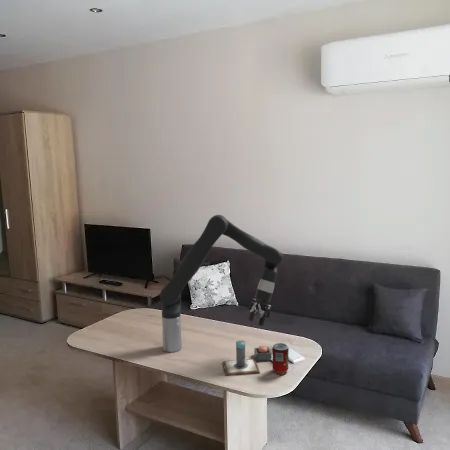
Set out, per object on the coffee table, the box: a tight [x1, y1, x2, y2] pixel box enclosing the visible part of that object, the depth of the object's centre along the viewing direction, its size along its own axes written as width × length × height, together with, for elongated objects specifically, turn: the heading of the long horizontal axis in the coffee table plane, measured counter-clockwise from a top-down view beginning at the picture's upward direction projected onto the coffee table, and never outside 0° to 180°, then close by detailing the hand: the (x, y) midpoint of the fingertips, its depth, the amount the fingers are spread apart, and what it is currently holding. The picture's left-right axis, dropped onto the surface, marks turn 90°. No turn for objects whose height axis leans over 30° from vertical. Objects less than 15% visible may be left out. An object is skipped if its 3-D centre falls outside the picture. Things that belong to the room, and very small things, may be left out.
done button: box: [257, 345, 268, 353], centre depth 213 cm, size 4×4×2 cm
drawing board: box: [222, 358, 261, 377], centre depth 203 cm, size 15×13×1 cm
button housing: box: [253, 346, 273, 362], centre depth 213 cm, size 7×7×4 cm
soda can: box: [272, 342, 290, 375], centre depth 199 cm, size 7×7×12 cm
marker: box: [235, 340, 246, 368], centre depth 203 cm, size 4×4×11 cm
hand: (255, 323), depth 212 cm, fingers open, 8 cm apart
